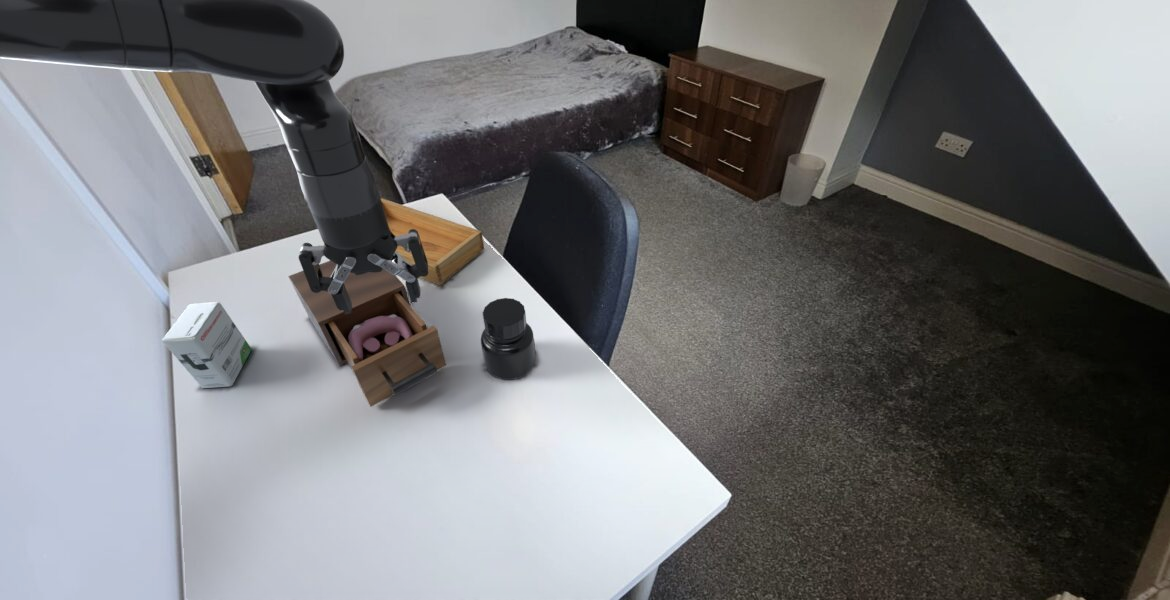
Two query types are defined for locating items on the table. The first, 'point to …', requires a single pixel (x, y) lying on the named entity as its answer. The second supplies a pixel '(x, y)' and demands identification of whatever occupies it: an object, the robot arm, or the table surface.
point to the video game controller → (377, 333)
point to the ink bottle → (507, 339)
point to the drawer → (390, 350)
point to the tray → (435, 240)
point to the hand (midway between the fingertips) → (381, 304)
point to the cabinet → (359, 291)
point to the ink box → (208, 344)
